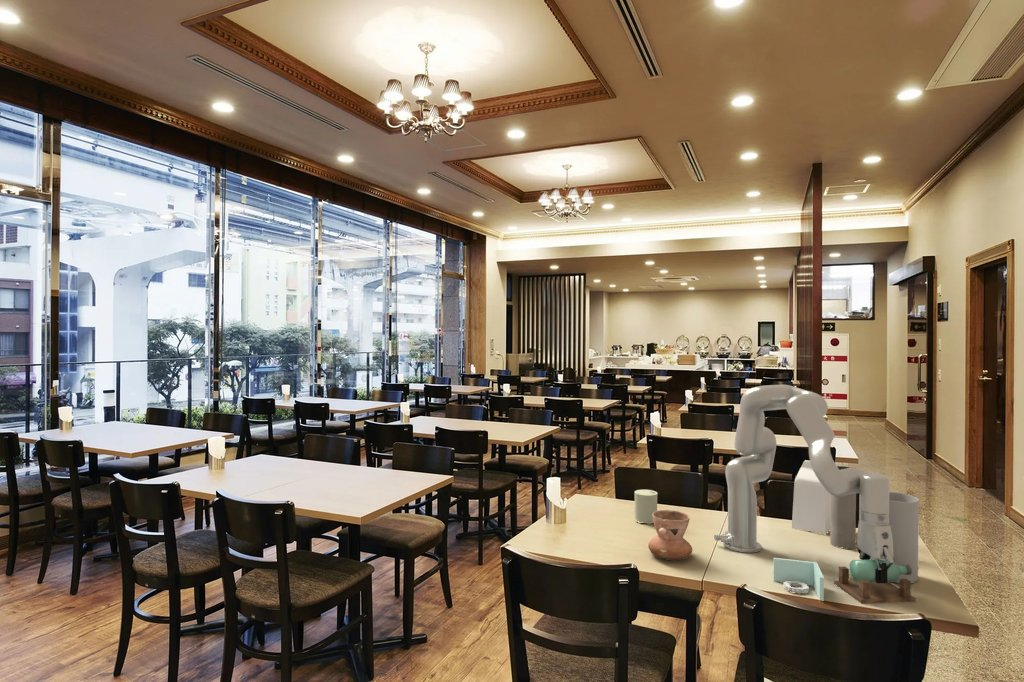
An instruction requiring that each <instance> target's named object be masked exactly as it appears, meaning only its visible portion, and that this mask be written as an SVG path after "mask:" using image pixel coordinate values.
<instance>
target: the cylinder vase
mask: <svg viewBox="0 0 1024 682" xmlns="http://www.w3.org/2000/svg"><path fill="white" fill-rule="evenodd" d="M919 500H920V499H919V498H918V497H916V496H913V495H911V494H906V493H901V492H894V491H889V525H890V527H891V531H892V538H893V561H894V562H895V563H896V564H897V566H900V565H909V566H910V567H911V569H912V573H911V575H905V574H899V578H898V580H897V581H888V582H890V583H892V584H893V583H894V584H900V579H907V580H909V581H911V584H914V583H916V582H917V581H918V580H919V525H920V524H919V521H920V520H919V519H920V518H919V516H920V515H919V514H920V513H919V510H920V509H919V507H920V506H919V505H920V503H919ZM880 558H883V557H882V556H880ZM870 560H875V558H873V557H871V559H870Z"/></svg>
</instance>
